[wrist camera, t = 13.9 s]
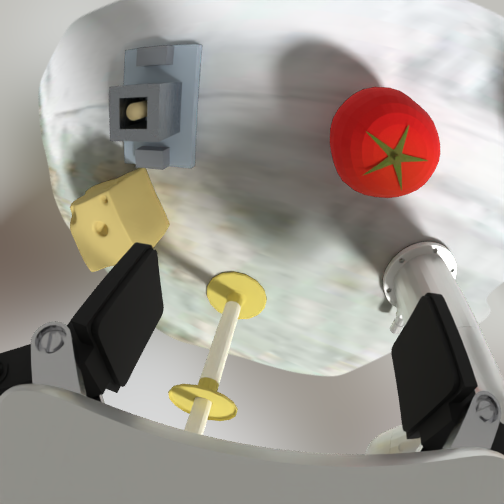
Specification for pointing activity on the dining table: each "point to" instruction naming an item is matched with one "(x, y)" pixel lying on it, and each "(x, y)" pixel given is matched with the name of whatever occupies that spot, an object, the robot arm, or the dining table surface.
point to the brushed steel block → (158, 111)
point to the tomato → (383, 143)
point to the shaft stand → (188, 72)
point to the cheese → (117, 219)
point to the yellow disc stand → (219, 350)
